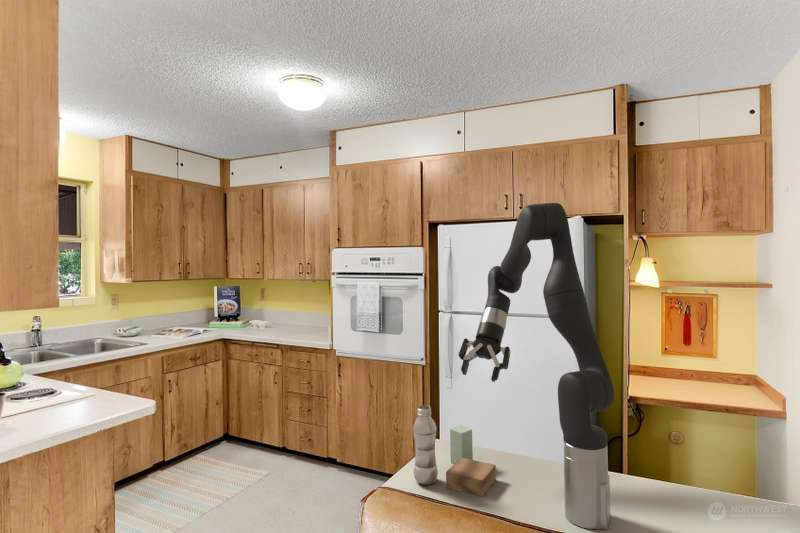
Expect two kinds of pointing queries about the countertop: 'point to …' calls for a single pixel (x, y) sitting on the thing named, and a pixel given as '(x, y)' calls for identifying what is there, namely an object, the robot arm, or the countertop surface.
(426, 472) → the plastic bottle
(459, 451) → the block
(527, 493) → the countertop surface
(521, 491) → the countertop surface
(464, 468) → the base
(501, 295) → the robot arm
